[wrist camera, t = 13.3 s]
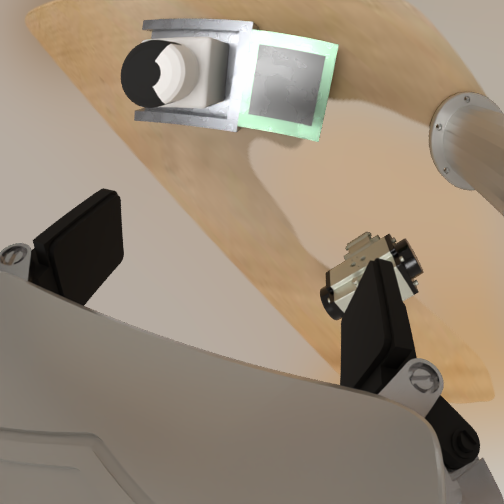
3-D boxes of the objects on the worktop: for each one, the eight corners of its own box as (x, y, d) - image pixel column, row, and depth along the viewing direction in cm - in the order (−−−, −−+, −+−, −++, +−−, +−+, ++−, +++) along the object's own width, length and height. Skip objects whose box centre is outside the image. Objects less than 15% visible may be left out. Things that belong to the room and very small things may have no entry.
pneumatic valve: (406, 235, 38) (432, 292, 28) (337, 277, 43) (341, 340, 33) (387, 204, 36) (412, 256, 26) (314, 251, 42) (313, 312, 32)
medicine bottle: (166, 99, 33) (110, 115, 23) (170, 43, 29) (112, 37, 19) (224, 102, 32) (185, 116, 22) (229, 43, 28) (191, 30, 18)
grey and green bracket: (335, 40, 27) (341, 32, 21) (314, 140, 34) (316, 155, 28) (157, 23, 28) (128, 17, 23) (148, 115, 35) (119, 126, 29)
